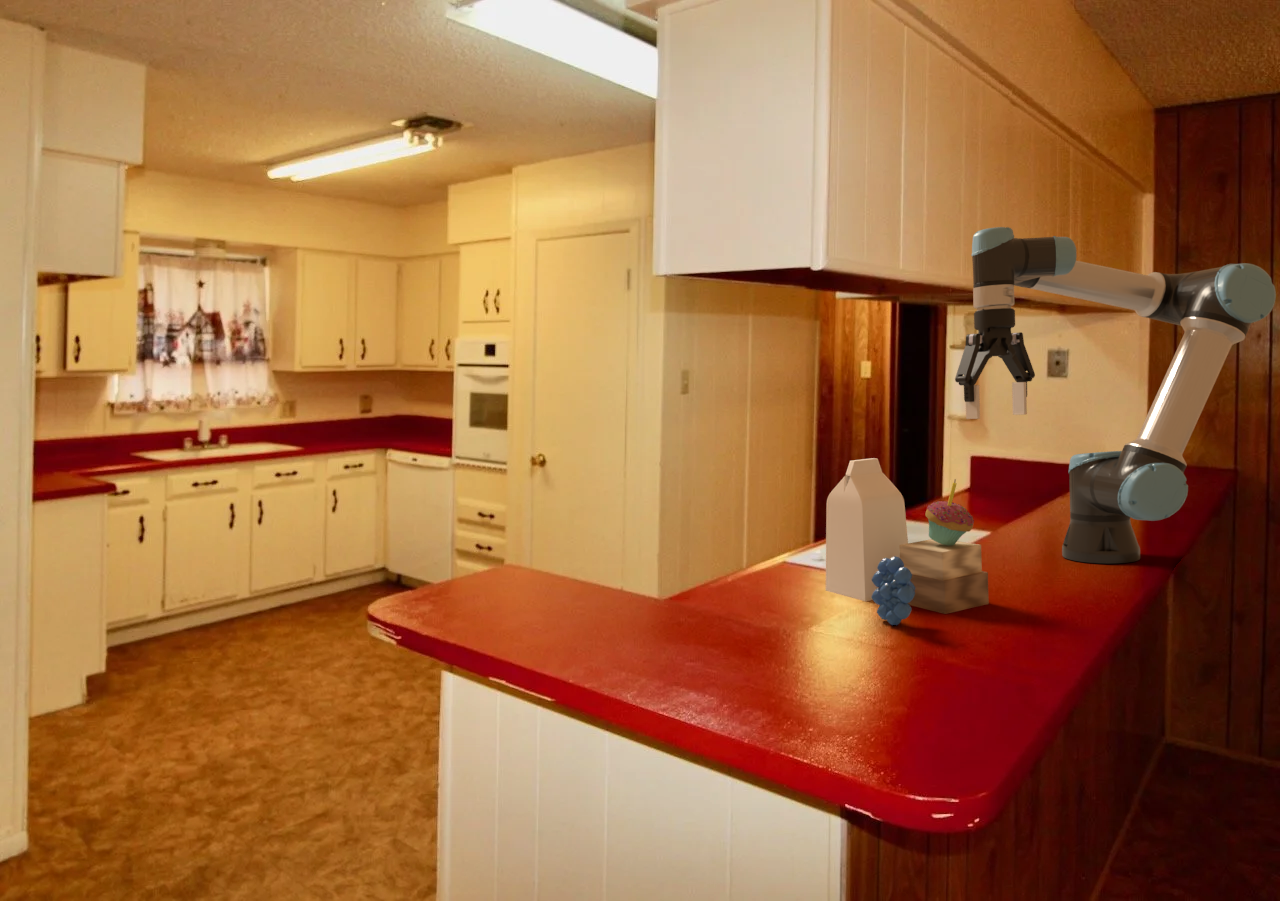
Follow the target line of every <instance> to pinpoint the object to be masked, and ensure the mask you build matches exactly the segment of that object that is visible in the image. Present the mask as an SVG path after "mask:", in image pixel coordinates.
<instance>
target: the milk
mask: <svg viewBox="0 0 1280 901" xmlns="http://www.w3.org/2000/svg"><path fill="white" fill-rule="evenodd" d="M905 505H906V504H905V498H904V496H903V495H902V493H901V491H900V490H899V489H898V488H897V487H896V486H895V484H894V483H893V482H892V481H891V480H890V479H889V477H887V476H886V474H885V473H884V472H883V469H882V467H881V465H880V461H879V459H878V458H875V457H873V458H872V457H871V458H862V459H855V460H849V463H848V466H847V469H846V472H845V475H844V476H843V477H842V479H840V481H839V482H838V483H837V484H836V485H835V487H834V488H833V489H832V490H831V492H829V494H828V496H827V498H826V509H825V510H826V511H825V512H826V513H825V514H826V517H825V518H826V522H825V524H826V525H825V526H826V527H825V533H826V534H825V591H826V592H829V593H834V594H837V595H841V596H844V597H848V598H851V599H855V600H859V601H861V602H869V601H873V599H872V598H871V597H872V594H873V592H874V591H875V590H876V589H877V588H879V587H876V586H875V585H874V583H873V582H872V577H873V575H874V574H875V573H876V572H877V571H879V570H878V568H877V567H878V564H879V563H880V561H881V560H882V559H884V558H889V559H891V558H892V557H894V556H896V557H899V558H900V546H899V545H903V544H908V543H909V538H908V526H907V518H906V517H907V515H906V507H905Z"/></svg>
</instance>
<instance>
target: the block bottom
mask: <svg viewBox="0 0 1280 901" xmlns="http://www.w3.org/2000/svg"><path fill="white" fill-rule="evenodd" d="M910 581H911V582H912V583H913V584H914V586H915V596H914V598H913V599H912V600H911V601H910V602H909V603H908V604H909V605H910V606H912V607H916V608H920V609H925V610H928V611H932V612H936V613H940V614H944V615H947V614H952V613H955V612H960V611H963V610H968V609H971V608H976V607H981V606H984V605H985V606H986V605H989V572H988V571H983V570H982V572H980V573H976V574H971V575H966V576H962V577H957V578H952V579H948V580H938V579H933V578H928V577H923V576H919V575H914V574H912V578H911V580H910Z"/></svg>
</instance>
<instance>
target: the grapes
mask: <svg viewBox="0 0 1280 901" xmlns="http://www.w3.org/2000/svg"><path fill="white" fill-rule="evenodd" d="M877 568H878V570H879V571H877V572H876V573H875V574H874V575H873V577H872V582H873V583H874V585H875V586H876V587H879V588H877V589H876V590H875V591H874V592H873V594H872V597H871V598H872V599H873V600H872V601H873V602H874V603H875V604H876V605H878V608H877V610H876V614H877V615H878V616H879V618H880V619H882V620H884V621H887V622H888V624H889V625H890V626H893V625H896V626H898V625H900V623H901V622H902V620H906V619H907V618H908V617H909V616H910V614H911V612H912V607H911V605H909V604H908V603H909V602H910V601H911V600H912V599H913V598H914V596H915V586H914V584H913V583H912V582H911V581H910V580H911V578H912V573H911V572H910V570H909V569H908V568H906V567H904V563H903V561H902V560H901V559H900V558H899V557H896V556H894V557H892V558H891V559H889V558H884V559H882V560H881V561H880V563H879V564H878V567H877Z"/></svg>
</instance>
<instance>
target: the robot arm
mask: <svg viewBox="0 0 1280 901" xmlns="http://www.w3.org/2000/svg"><path fill="white" fill-rule="evenodd" d="M971 257H972V277H973V278H972V280H973V283H972V284H973V288H972V292H973V294H972V296H973V299H972V300H973V304H972V305H973V308H974V309H976V311H974V313H973V324H974V325H973V328H974V329H975V330H976V331H978V332H977V333H970V334H969V333H967V334H966V336H965V346H964V348H963V352H962V355H961V358H960V362H959V365H958V367H957V372H956V375H955V378H954V381H955V382H956V383H958V385H959V386H963V393H964V394H963V396H964V397H963V399H964V402H965V419H966V420H980V419H981V410H980V409H981V407H980V406H981V403H980V399H981V398H980V385H979V384H976V383H977V382H978V380H979V378H980V376H981V375H982V373H983V371H984V369H985V366H987V364H988V361H989V359H991V358H992V357H998V358H999V359H1001V360H1002V361H1003V363H1004V365H1005V367H1006V368H1007V370H1008V372H1010V374H1011V376H1012V378H1013V379H1014V382H1011V388H1012V389H1011V392H1012V395H1011V396H1012V415H1016V416H1017V415H1019V416H1020V415H1026V416H1027V414H1028V408H1027V403H1028V402H1027V400H1028V399H1027V397H1028V383H1029V382H1032V381H1033V379H1034V378H1035V376H1036V375H1035V371H1034V367H1033V364H1032V362H1031V359H1030V356H1029V353H1028V351H1027V349H1026V345H1025V341H1024V333H1023V332H1020V331H1019V332H1012V328H1014V327H1015V326H1016V310H1015V309H1014V308H1012V307H1013V306H1014V305H1015V287H1020V288H1024V289H1025V288H1026V289H1030V290H1031V289H1032V290H1036V291H1041V292H1046V293H1050V294H1056V295H1061V296H1065V297H1069V298H1075V299H1079V300H1085V301H1088V302H1094V303H1098V304H1103V305H1109V306H1113V307H1119V308H1123V309H1128V310H1131V311H1134V312H1135V314H1136V315H1137V316H1139V317H1142V318H1146V319H1150V320H1156V321H1160V322H1163V323H1167V324H1168V323H1169V324H1171V325H1172V324H1173V325H1176V326H1177V325H1178V326H1181V327H1182V330H1183V331H1184V334H1183V335H1182V338H1181V339H1180V342H1179V344H1178V346H1177V349H1176V351H1175V353H1174V355H1173V358H1172V360H1171V361H1170V364H1169V367H1168V368H1167V370H1166V373H1165V375H1164V376H1163V379H1162V381H1161V383H1160V387H1159V389H1158V391H1157V393H1156V395H1155V397H1154V400H1153V401H1152V404H1151V406H1150V408H1149V410H1148V413H1147V415H1146V416H1145V420H1144V422H1143V424H1142V426H1141V428H1140V430H1139V432H1138V434H1137V436H1136V438H1135V439H1134V440H1131V441H1129V442H1127V443H1125V444H1123V448H1122V449H1121V450H1114V451H1097V452H1096V451H1095V452H1088V453H1087V452H1085V453H1077V454H1073V455H1072V456H1071V457H1070V459H1069V465H1068V472H1067V473H1068V476H1069V481H1068V482H1069V514H1070V516H1069V517H1070V518H1069V519H1070V520H1069V525H1068V528H1067V531H1066V532H1065V533H1066V534H1065V536H1064V540H1063V543H1062V548H1061V555H1062V557H1063V558H1064V559H1067V560H1069V561H1070V560H1071V561H1075V562H1080V563H1091V564H1108V565H1109V564H1110V565H1111V564H1125V563H1134V562H1138V561H1139V560H1140V559H1141V547H1140V545H1139V543H1138V540H1137V537H1136V533H1135V531H1134V528H1133V527H1132V522H1131V519H1133V520H1137V521H1151V522H1155V521H1161V520H1164V519H1167V518H1170V517H1171V516H1173V515H1174V514H1175V513H1177V512H1178V511H1179V510H1180V509H1181V508H1182V507H1183V505H1184V504H1185V501H1186V500H1187V497H1188V493H1189V485H1188V484H1187V477H1186V475H1185V470H1186V468H1187V465H1188V464H1187V461H1186V460H1185V458H1184V457H1183V454H1184V451H1185V450H1186V447H1187V445H1188V443H1189V441H1190V439H1191V436H1192V435H1193V432H1194V430H1195V427H1196V425H1197V423H1198V420H1200V419H1199V418H1200V416H1201V414H1202V412H1203V410H1204V408H1205V405H1206V403H1207V401H1208V399H1209V397H1210V394H1211V392H1212V391H1213V388H1214V385H1215V383H1216V382H1217V379H1218V377H1219V375H1220V372H1221V371H1222V368H1223V366H1224V365H1225V361H1226V359H1227V356H1228V355H1229V352H1230V351H1231V349H1232V346H1234V344H1238V343H1239V342H1242V341H1245V339H1246V336H1247V335H1248V332H1249V330H1250V328H1251V325H1252V323H1256V322H1259V321H1261V320H1263V319H1265V318H1266V317H1267V316H1268V315H1269V314H1270V313H1271V312H1272V311H1273V308H1274V306H1275V302H1276V297H1277V296H1276V295H1277V293H1276V286H1275V284H1273V282H1272V277H1271V276H1270V274H1268V272H1267V271H1266V270H1264V269H1263V268H1262V267H1260V266H1258V265H1256V264H1253V263H1248V262H1247V263H1245V262H1244V263H1243V262H1241V263H1229V264H1228V263H1227V264H1226V265H1223V266H1219V267H1214V268H1209V269H1203V270H1199V271H1198V270H1197V271H1191V272H1184V273H1172V274H1171V273H1162V272H1159V271H1158V272H1156V271H1153V272H1150V273H1148V274H1144V273H1143V274H1142V273H1139V272H1134V271H1133V272H1132V271H1128V270H1124V269H1118V268H1113V267H1110V266H1104V265H1099V264H1096V263H1095V264H1094V263H1091V262H1090V263H1089V262H1085V261H1081V260H1077V247H1076V244H1075V242H1074V240H1073V239H1071V238H1070V237H1068V236H1056V235H1053V236H1042V237H1028V238H1027V237H1025V238H1020V237H1019V238H1018V237H1015V235H1014V230H1013V228H1012V227H1009V226H1007V227H1005V226H997V227H988V228H984V229H980V230H977V231H976V232H975V233H974V234H973V236H972V244H971Z"/></svg>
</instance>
